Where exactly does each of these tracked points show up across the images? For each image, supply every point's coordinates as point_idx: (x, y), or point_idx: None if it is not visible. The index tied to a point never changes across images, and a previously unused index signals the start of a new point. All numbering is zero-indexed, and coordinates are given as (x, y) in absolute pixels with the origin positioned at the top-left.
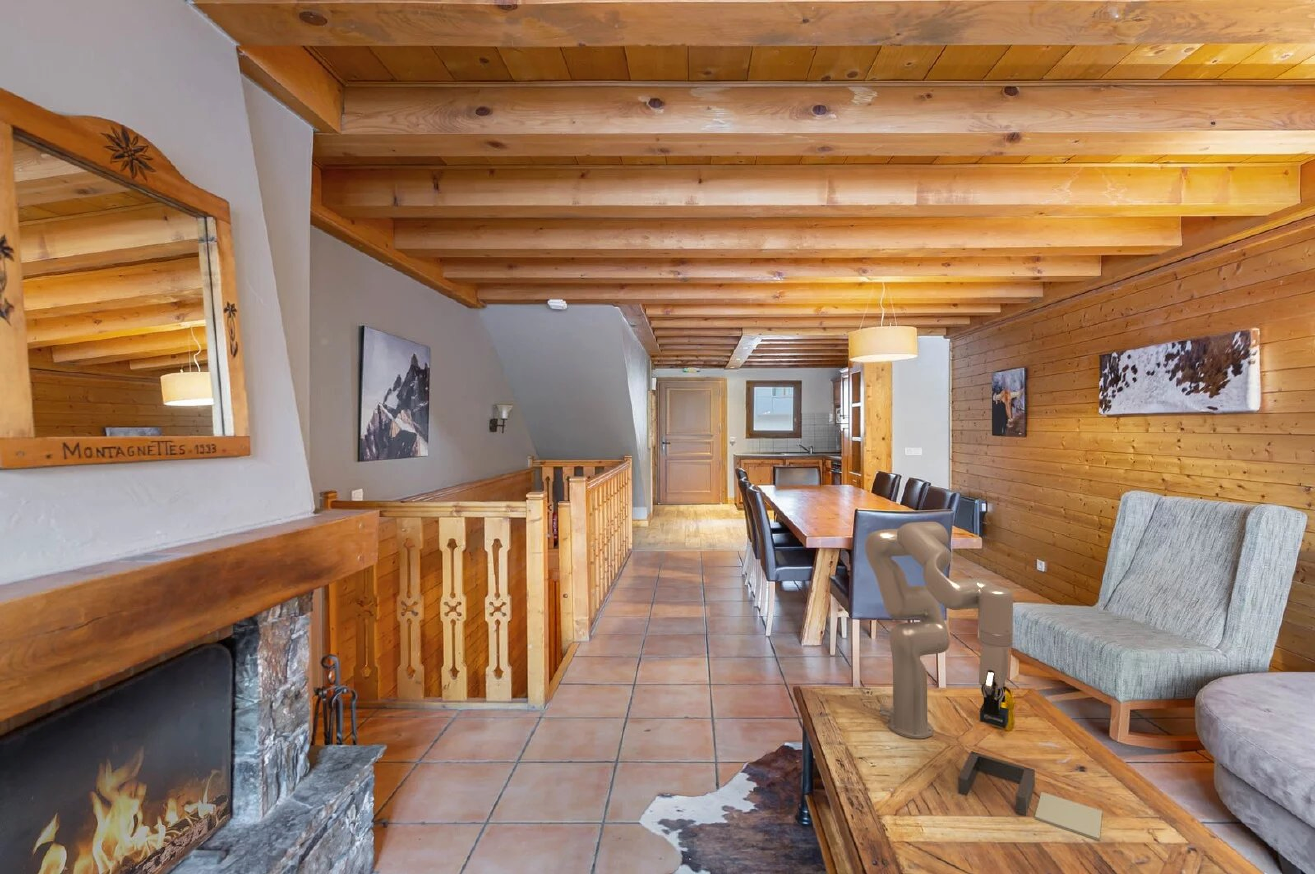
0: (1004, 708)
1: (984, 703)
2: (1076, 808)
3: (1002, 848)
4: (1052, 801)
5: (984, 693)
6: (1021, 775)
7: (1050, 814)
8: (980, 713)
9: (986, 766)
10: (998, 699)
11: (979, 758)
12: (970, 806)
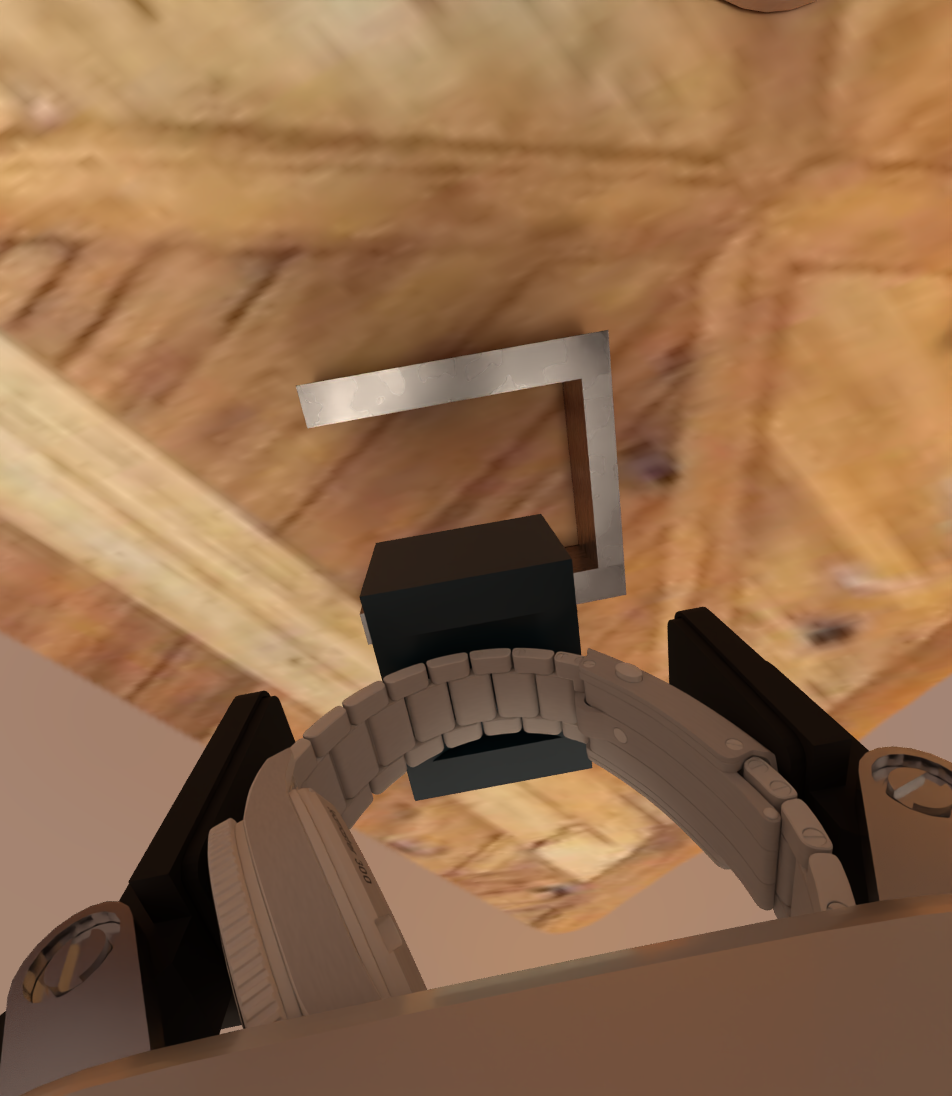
0: (575, 740)
1: (192, 783)
2: None
3: (120, 626)
4: None
5: (17, 1004)
6: (588, 546)
7: None
8: (366, 577)
9: (572, 412)
10: (237, 1018)
11: (577, 382)
12: (262, 459)
